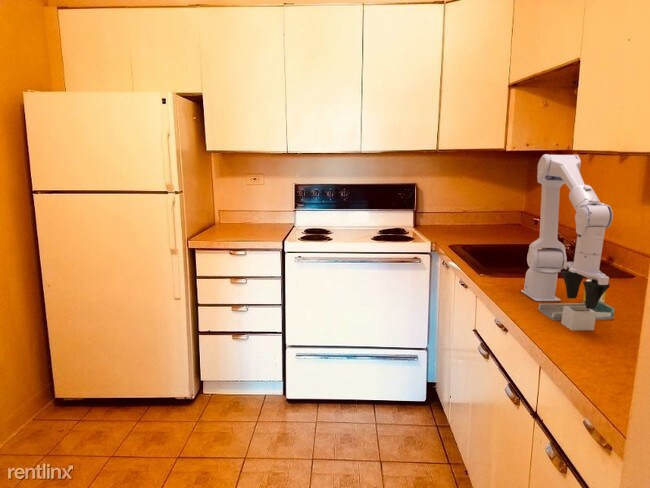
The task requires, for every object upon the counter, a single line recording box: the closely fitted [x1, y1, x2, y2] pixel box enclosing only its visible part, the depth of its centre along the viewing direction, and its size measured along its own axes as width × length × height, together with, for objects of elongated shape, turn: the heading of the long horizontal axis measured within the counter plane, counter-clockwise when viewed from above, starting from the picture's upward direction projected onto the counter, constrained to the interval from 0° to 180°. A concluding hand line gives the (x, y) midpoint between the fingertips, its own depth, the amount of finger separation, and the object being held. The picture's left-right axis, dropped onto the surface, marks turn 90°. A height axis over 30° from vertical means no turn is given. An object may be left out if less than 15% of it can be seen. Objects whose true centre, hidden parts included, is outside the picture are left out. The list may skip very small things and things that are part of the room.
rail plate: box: [538, 301, 615, 321], centre depth 122 cm, size 17×8×3 cm, turn 93°
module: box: [560, 306, 596, 331], centre depth 113 cm, size 4×6×5 cm
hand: (580, 303), depth 112 cm, fingers open, 7 cm apart
